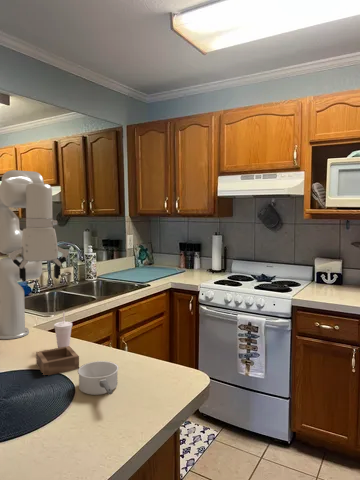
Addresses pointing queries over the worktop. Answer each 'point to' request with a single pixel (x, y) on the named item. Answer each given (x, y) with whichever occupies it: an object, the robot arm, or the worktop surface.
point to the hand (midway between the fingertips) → (40, 279)
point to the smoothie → (63, 332)
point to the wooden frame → (57, 360)
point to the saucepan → (98, 377)
